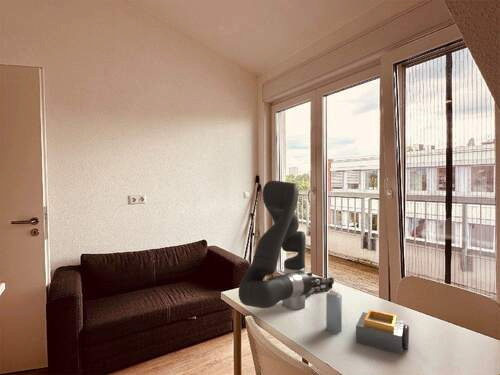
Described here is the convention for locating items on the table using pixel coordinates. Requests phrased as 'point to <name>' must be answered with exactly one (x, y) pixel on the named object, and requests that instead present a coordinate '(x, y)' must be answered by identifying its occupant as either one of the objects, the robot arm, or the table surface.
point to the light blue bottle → (334, 311)
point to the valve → (314, 290)
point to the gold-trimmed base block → (382, 332)
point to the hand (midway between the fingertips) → (321, 278)
